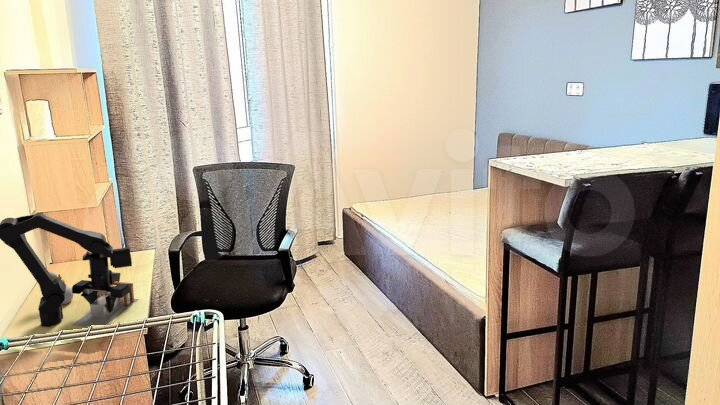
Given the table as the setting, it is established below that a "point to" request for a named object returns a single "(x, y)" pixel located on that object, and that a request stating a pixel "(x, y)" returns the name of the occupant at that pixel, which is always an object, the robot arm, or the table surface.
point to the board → (89, 321)
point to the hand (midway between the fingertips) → (103, 311)
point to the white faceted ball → (68, 290)
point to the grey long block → (104, 306)
